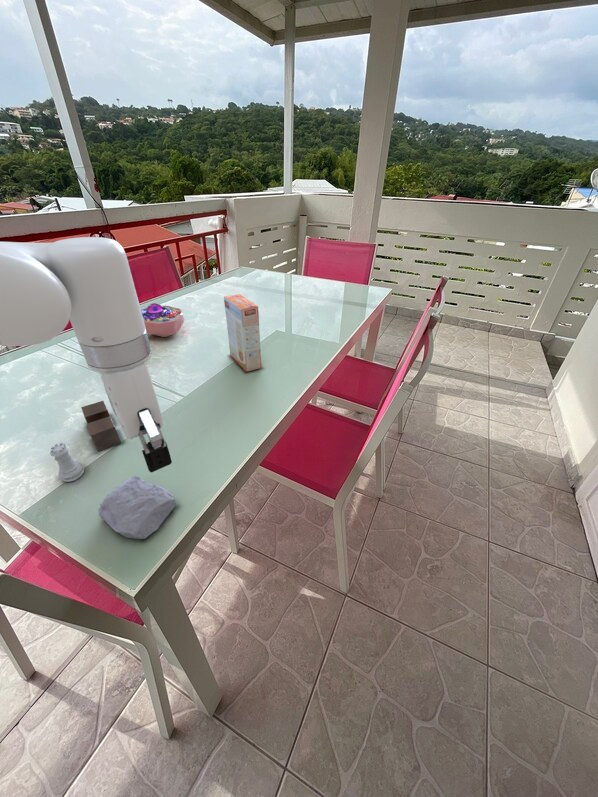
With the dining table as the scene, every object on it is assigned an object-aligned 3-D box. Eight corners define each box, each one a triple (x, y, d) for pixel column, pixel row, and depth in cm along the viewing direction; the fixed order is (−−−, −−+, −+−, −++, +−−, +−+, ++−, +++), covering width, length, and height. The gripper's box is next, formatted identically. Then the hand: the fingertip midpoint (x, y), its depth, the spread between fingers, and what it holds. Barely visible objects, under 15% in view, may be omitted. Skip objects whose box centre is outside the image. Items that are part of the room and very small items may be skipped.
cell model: (150, 348, 119) (142, 318, 112) (133, 331, 132) (125, 303, 125) (194, 336, 128) (189, 308, 121) (175, 321, 140) (169, 294, 134)
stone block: (145, 550, 58) (182, 501, 64) (133, 539, 54) (172, 488, 60) (99, 526, 62) (137, 482, 68) (85, 514, 59) (126, 469, 65)
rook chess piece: (55, 481, 68) (38, 453, 64) (71, 465, 72) (56, 438, 67) (75, 484, 68) (59, 456, 63) (89, 468, 71) (75, 440, 67)
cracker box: (262, 368, 108) (259, 305, 96) (245, 373, 105) (239, 309, 93) (245, 351, 118) (240, 292, 106) (229, 355, 115) (222, 295, 103)
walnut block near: (98, 451, 75) (90, 435, 72) (94, 439, 79) (86, 423, 76) (121, 443, 78) (114, 426, 75) (116, 431, 81) (110, 415, 78)
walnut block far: (91, 433, 81) (84, 417, 78) (88, 422, 84) (81, 407, 81) (113, 425, 83) (107, 409, 80) (109, 415, 86) (103, 400, 84)
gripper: (72, 332, 45) (110, 428, 55) (99, 387, 34) (141, 496, 43) (130, 320, 49) (156, 412, 58) (171, 366, 38) (195, 471, 47)
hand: (150, 448), depth 51 cm, fingers open, 9 cm apart
